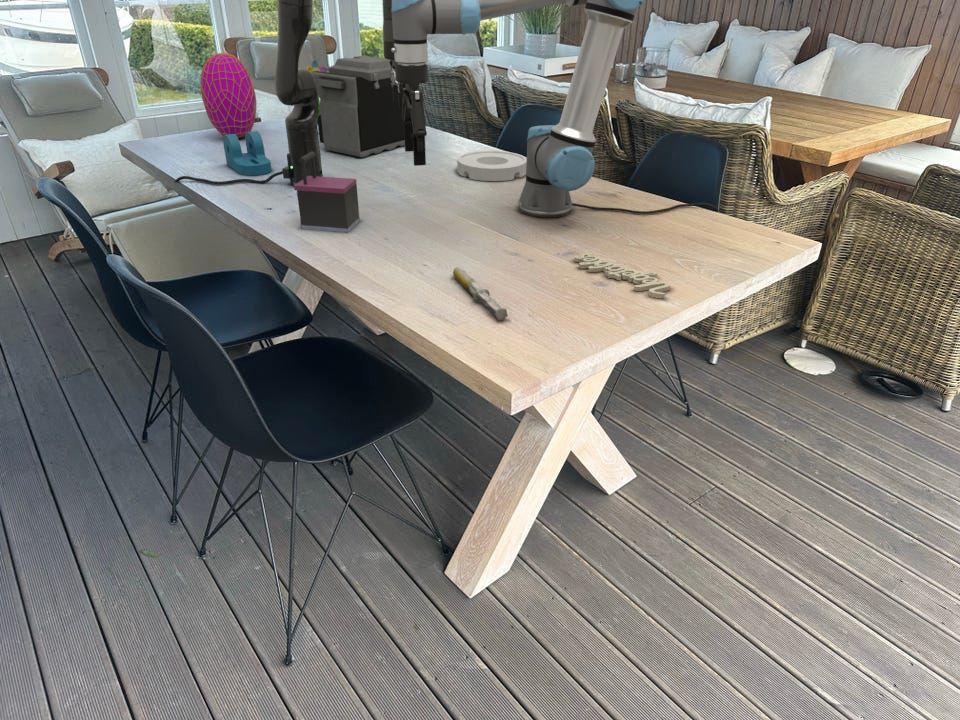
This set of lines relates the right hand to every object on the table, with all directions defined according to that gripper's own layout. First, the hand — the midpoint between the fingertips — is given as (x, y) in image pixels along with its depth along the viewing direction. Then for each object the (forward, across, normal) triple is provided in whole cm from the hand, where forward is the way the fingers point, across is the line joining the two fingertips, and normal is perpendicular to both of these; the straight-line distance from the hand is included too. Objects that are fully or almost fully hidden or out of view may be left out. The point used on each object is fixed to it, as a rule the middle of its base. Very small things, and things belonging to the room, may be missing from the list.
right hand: (415, 158), depth 167 cm
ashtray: (+20, -54, +34) cm, 67 cm away
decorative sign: (+20, +36, +41) cm, 58 cm away
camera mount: (+19, -74, -44) cm, 88 cm away
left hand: (-8, -26, +1) cm, 27 cm away
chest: (+20, -13, -21) cm, 32 cm away
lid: (+9, -13, -22) cm, 27 cm away
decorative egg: (+19, -121, -51) cm, 133 cm away
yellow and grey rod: (+20, +40, +6) cm, 45 cm away
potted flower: (+20, -144, -17) cm, 147 cm away
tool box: (+20, -98, -1) cm, 100 cm away
